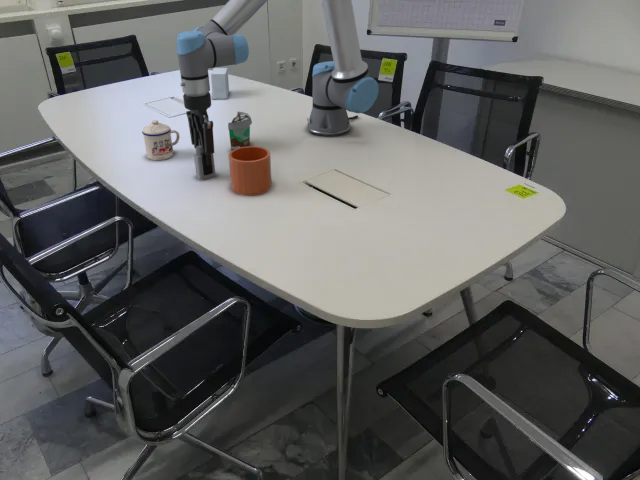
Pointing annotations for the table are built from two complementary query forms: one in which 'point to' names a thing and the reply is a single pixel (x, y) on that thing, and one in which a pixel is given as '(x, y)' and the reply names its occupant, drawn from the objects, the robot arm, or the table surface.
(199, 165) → the power adapter
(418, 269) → the table surface
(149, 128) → the teacup with lid
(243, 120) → the food container
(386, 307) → the table surface
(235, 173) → the orange flower pot
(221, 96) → the cosmetics box
